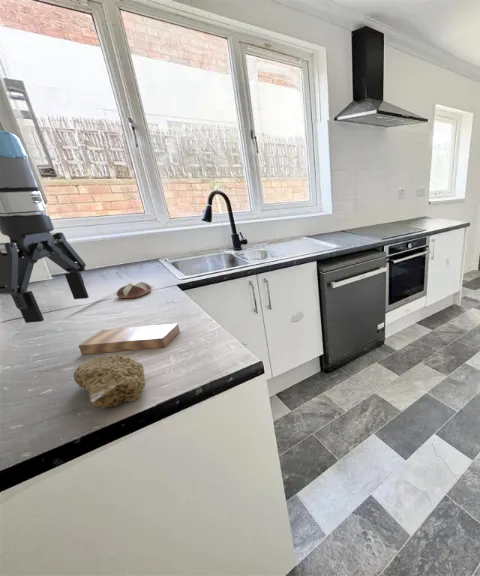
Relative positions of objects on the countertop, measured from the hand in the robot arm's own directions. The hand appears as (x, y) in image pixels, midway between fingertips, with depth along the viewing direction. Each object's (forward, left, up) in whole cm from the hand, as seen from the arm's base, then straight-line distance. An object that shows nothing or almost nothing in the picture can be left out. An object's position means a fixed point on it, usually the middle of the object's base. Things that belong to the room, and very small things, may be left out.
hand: (60, 309), depth 70 cm
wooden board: (0, +20, -20) cm, 28 cm away
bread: (-25, +68, -20) cm, 75 cm away
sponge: (+8, -5, -20) cm, 22 cm away
